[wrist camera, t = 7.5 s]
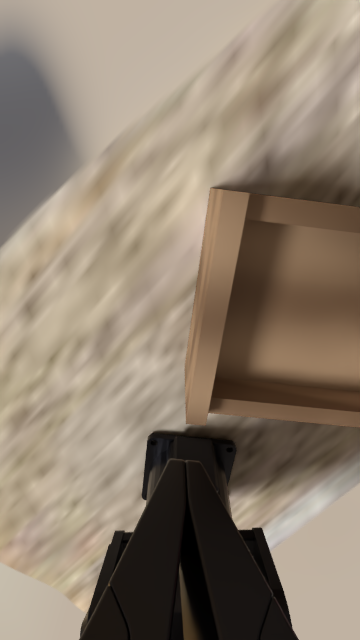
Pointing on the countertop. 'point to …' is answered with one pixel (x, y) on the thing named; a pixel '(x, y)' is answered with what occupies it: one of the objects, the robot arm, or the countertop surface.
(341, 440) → the countertop surface
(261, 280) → the brown wooden drawer
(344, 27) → the countertop surface
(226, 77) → the countertop surface
